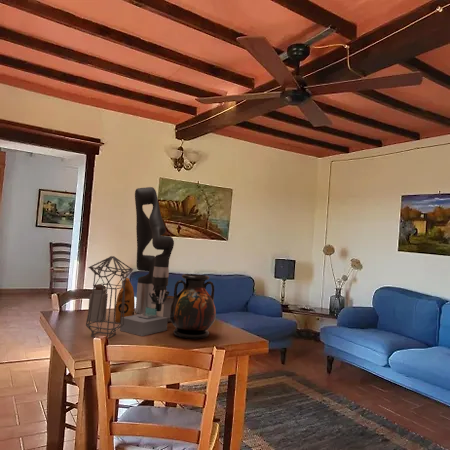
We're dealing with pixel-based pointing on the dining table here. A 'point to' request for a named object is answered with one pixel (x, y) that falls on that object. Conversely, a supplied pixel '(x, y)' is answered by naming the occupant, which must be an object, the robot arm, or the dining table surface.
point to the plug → (158, 311)
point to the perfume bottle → (96, 304)
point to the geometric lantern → (106, 293)
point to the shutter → (148, 313)
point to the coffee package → (125, 302)
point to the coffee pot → (167, 307)
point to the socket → (144, 325)
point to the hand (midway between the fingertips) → (158, 311)
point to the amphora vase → (193, 307)
